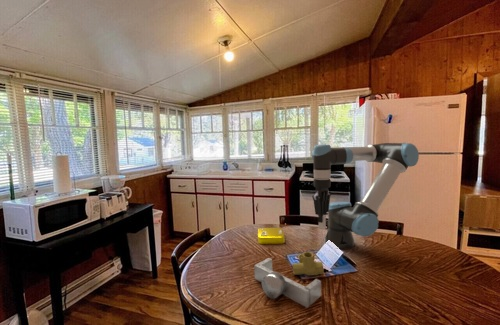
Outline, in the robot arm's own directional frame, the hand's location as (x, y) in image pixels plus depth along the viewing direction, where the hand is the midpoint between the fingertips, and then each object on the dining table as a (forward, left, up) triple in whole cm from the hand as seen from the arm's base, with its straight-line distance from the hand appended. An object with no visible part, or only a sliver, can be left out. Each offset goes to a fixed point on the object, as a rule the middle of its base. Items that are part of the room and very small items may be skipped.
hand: (322, 228), depth 116 cm
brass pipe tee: (+12, 0, -17) cm, 21 cm away
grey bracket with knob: (+30, 0, -16) cm, 34 cm away
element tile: (-4, -36, -17) cm, 40 cm away
